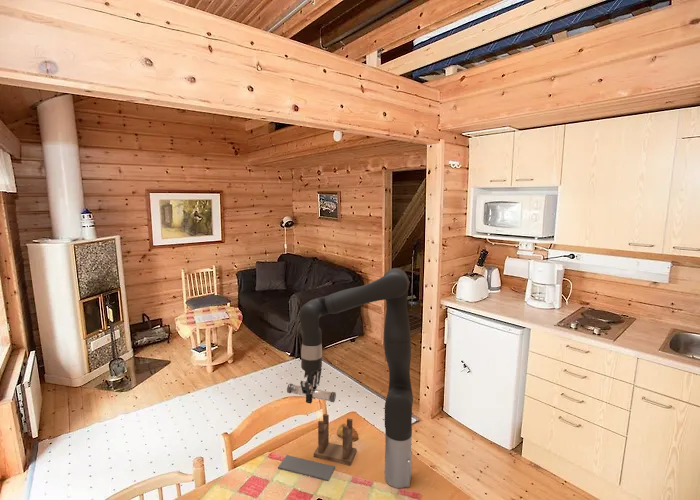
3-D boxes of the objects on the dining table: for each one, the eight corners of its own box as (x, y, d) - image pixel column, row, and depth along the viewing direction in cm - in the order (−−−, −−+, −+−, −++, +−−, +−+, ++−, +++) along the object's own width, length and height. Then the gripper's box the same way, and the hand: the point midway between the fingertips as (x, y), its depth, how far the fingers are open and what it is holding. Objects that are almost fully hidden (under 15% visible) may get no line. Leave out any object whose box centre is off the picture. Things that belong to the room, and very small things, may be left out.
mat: (335, 467, 132) (335, 466, 131) (328, 481, 125) (328, 479, 125) (286, 456, 138) (286, 454, 138) (277, 468, 131) (277, 467, 131)
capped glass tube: (335, 399, 129) (336, 390, 129) (332, 404, 126) (332, 395, 125) (291, 390, 135) (291, 381, 134) (286, 394, 132) (286, 385, 131)
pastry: (362, 437, 150) (362, 428, 150) (351, 445, 145) (351, 436, 145) (345, 428, 156) (345, 420, 156) (335, 435, 151) (335, 427, 151)
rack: (356, 451, 140) (356, 418, 139) (350, 465, 133) (350, 430, 131) (321, 444, 145) (321, 411, 144) (313, 456, 137) (313, 422, 136)
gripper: (313, 364, 121) (312, 412, 123) (328, 349, 134) (327, 393, 136) (293, 361, 123) (293, 408, 125) (310, 346, 136) (310, 389, 138)
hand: (311, 400), depth 130 cm, fingers closed on capped glass tube, 3 cm apart
